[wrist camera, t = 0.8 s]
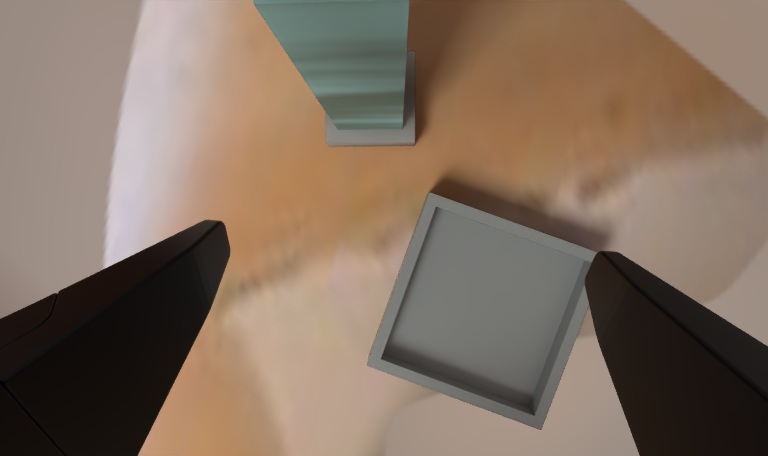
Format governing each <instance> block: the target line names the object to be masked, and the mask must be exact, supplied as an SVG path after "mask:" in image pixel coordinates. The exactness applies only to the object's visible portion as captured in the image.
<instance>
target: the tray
mask: <svg viewBox="0 0 768 456" xmlns="http://www.w3.org/2000/svg"><path fill="white" fill-rule="evenodd" d="M596 253H597V252H595V251H592V250H590V249H587V248H584V247H581V246H578V245H576V244H573V243H570V242H567V241H564V240H562V239H559V238H556V237H553V236H550V235H548V234H545V233H542V232H539V231H536V230H534V229H531V228H528V227H525V226H522V225H520V224H517V223H514V222H511V221H508V220H506V219H503V218H500V217H497V216H494V215H492V214H489V213H486V212H483V211H480V210H478V209H475V208H472V207H469V206H466V205H464V204H461V203H458V202H455V201H452V200H450V199H447V198H444V197H441V196H439V195H436V194H433V193H430V192H429V193H428V194H427V196H426V199H425V202H424V205H423V207H422V210H421V213H420V216H419V218H418V221H417V224H416V227H415V230H414V232H413V235H412V238H411V241H410V243H409V246H408V249H407V252H406V254H405V257H404V260H403V263H402V265H401V268H400V271H399V274H398V276H397V279H396V282H395V285H394V287H393V290H392V293H391V296H390V298H389V301H388V304H387V307H386V309H385V312H384V315H383V318H382V321H381V323H380V326H379V329H378V332H377V334H376V337H375V340H374V343H373V345H372V348H371V351H370V354H369V357H368V362H367V366H369V367H372V368H375V369H377V370H380V371H383V372H386V373H388V374H391V375H394V376H396V377H399V378H402V379H405V380H407V381H410V382H413V383H415V384H418V385H421V386H423V387H426V388H429V389H432V390H434V391H437V392H440V393H442V394H445V395H448V396H450V397H453V398H456V399H459V400H461V401H464V402H467V403H470V404H472V405H475V406H477V407H480V408H483V409H486V410H488V411H491V412H494V413H497V414H499V415H502V416H504V417H508V418H510V419H513V420H516V421H518V422H521V423H523V424H526V425H529V426H531V427H534V428H537V429H540V430H541V429H542V427H543V424H544V421H545V419H546V416H547V413H548V410H549V408H550V406H551V403H552V400H553V398H554V395H555V392H556V390H557V387H558V385H559V382H560V379H561V376H562V374H563V372H564V369H565V366H566V363H567V361H568V358H569V356H570V353H571V351H572V348H573V345H574V343H575V340H576V337H577V335H578V332H579V330H580V327H581V324H582V322H583V319H584V316H585V314H586V311H587V309H588V306H589V302H588V298H587V294H586V289H585V283H584V282H585V276H586V274H587V272H588V269H589V267H590V265H591V263H592V261H593V259H594V256H595V255H596Z"/></svg>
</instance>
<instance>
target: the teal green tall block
mask: <svg viewBox="0 0 768 456" xmlns="http://www.w3.org/2000/svg"><path fill="white" fill-rule="evenodd" d="M254 5H255V7H256V8H257V10H258V11H259V13H260V14H261V16H262V17H263V19H264V20H265V21H266V23H267V24H268V26H269V27H270V29H271V30H272V32H273V33H274V35H275V36H276V38H277V39H278V41H279V42H280V44H281V45H282V47H283V48H284V50H285V51H286V53H287V54H288V56H289V57H290V59H291V60H292V62H293V63H294V65H295V66H296V68H297V69H298V71H299V72H300V74H301V75H302V77H303V78H304V80H305V81H306V83H307V84H308V86H309V87H310V89H311V90H312V92H313V93H314V95H315V96H316V98H317V99H318V101H319V102H320V104H321V105H322V107H323V108H324V110H325V115H326V144H327V145H328V146H329V147H348V146H414V144H415V51H407V36H408V18H409V0H254Z"/></svg>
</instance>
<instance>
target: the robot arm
mask: <svg viewBox="0 0 768 456" xmlns="http://www.w3.org/2000/svg"><path fill="white" fill-rule="evenodd" d="M229 257H230V245H229V240H228V236H227V232H226V227H225V225H224V223H223V222H222V221H216V220H204V221H202V222H200V223H198V224H196V225H194V226H192V227H190V228H187V229H185V230H183V231H181V232H179V233H177V234H175V235H173V236H171V237H169V238H167V239H165V240H163V241H161V242H159V243H157V244H155V245H153V246H151V247H148V248H146V249H144V250H142V251H140V252H138V253H136V254H134V255H132V256H130V257H128V258H126V259H124V260H122V261H120V262H118V263H116V264H114V265H112V266H109V267H107V268H105V269H103V270H101V271H100V272H97V273H95V274H93V275H91V276H89V277H87V278H85V279H83V280H81V281H79V282H77V283H75V284H72V285H70V286H69V287H67V288H64V289H62V290H60V291H59V293H58V294H57V293H54V294H52V295H50V296H48V297H46V298H44V299H42V300H40V301H38V302H36V303H34V304H31V305H29V306H27V307H25V308H23V309H21V310H18V311H16V312H14V313H12V314H10V315H8V316H6V317H3V318H1V319H0V456H138V454H139V452H140V450H141V448H142V446H143V444H144V442H145V440H146V438H147V436H148V434H149V432H150V430H151V428H152V426H153V424H154V422H155V420H156V418H157V416H158V414H159V412H160V410H161V408H162V406H163V404H164V402H165V400H166V398H167V396H168V394H169V392H170V390H171V388H172V386H173V384H174V382H175V380H176V378H177V376H178V374H179V372H180V370H181V368H182V366H183V364H184V362H185V360H186V358H187V356H188V354H189V352H190V350H191V348H192V346H193V344H194V342H195V340H196V338H197V336H198V334H199V332H200V330H201V328H202V326H203V324H204V322H205V320H206V318H207V316H208V313H209V311H210V309H211V307H212V304H213V302H214V299H215V296H216V293H217V291H218V288H219V285H220V282H221V279H222V277H223V274H224V271H225V268H226V265H227V263H228V260H229ZM584 283H585V289H586V294H587V298H588V302H589V306H590V310H591V315H592V319H593V323H594V327H595V331H596V335H597V339H598V342H599V345H600V348H601V351H602V354H603V357H604V359H605V362H606V365H607V368H608V370H609V373H610V376H611V378H612V381H613V384H614V387H615V389H616V392H617V395H618V397H619V400H620V403H621V406H622V408H623V411H624V414H625V417H626V419H627V422H628V425H629V428H630V430H631V433H632V436H633V438H634V441H635V444H636V447H637V449H638V452H639V455H640V456H768V346H766V345H765V344H763V343H761V342H760V341H758V340H757V339H755V338H753V337H752V336H750V335H749V334H747V333H746V332H744V331H742V330H741V329H739V328H737V327H736V326H734V325H733V324H731V323H730V322H728V321H726V320H725V319H723V318H722V317H720V316H719V315H717V314H715V313H714V312H712V311H711V310H709V309H707V308H706V307H704V306H703V305H701V304H699V303H698V302H696V301H695V300H693V299H692V298H690V297H688V296H687V295H685V294H684V293H682V292H680V291H679V290H677V289H676V288H674V287H672V286H671V285H669V284H668V283H666V282H665V281H663V280H661V279H660V278H658V277H657V276H655V275H653V274H652V273H650V272H649V271H647V270H645V269H644V268H642V267H641V266H639V265H638V264H636V263H634V262H633V261H631V260H630V259H628V258H626V257H625V256H623V255H622V254H620V253H618V252H613V251H599V252H597V253H596V255H595V256H594V259H593V261H592V263H591V265H590V267H589V269H588V272H587V274H586V276H585V282H584Z"/></svg>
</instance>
